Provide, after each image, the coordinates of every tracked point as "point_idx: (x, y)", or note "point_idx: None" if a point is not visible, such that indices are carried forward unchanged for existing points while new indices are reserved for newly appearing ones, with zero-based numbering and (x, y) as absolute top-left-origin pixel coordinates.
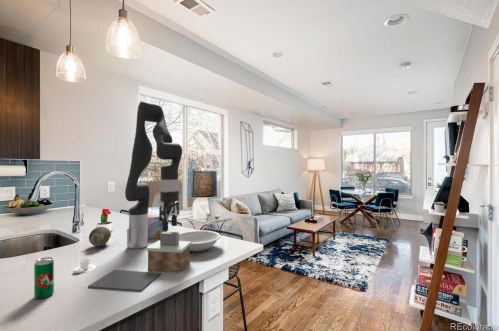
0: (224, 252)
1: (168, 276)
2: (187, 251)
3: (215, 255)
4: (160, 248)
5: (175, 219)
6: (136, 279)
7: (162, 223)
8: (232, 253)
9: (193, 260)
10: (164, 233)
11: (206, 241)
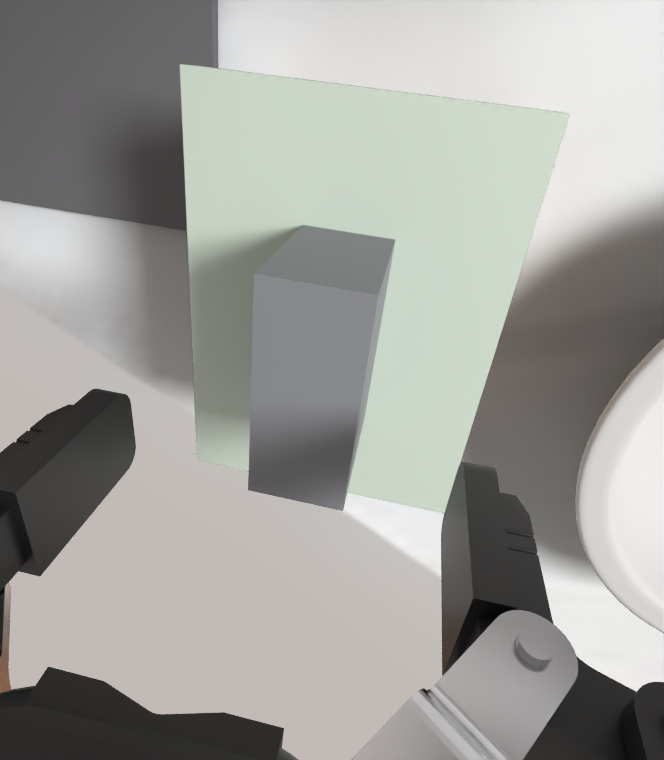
0: None
1: None
2: None
3: (568, 534)
4: (195, 266)
5: (446, 623)
6: (73, 84)
7: (8, 462)
8: (587, 617)
9: (483, 408)
10: (262, 342)
11: (624, 573)
